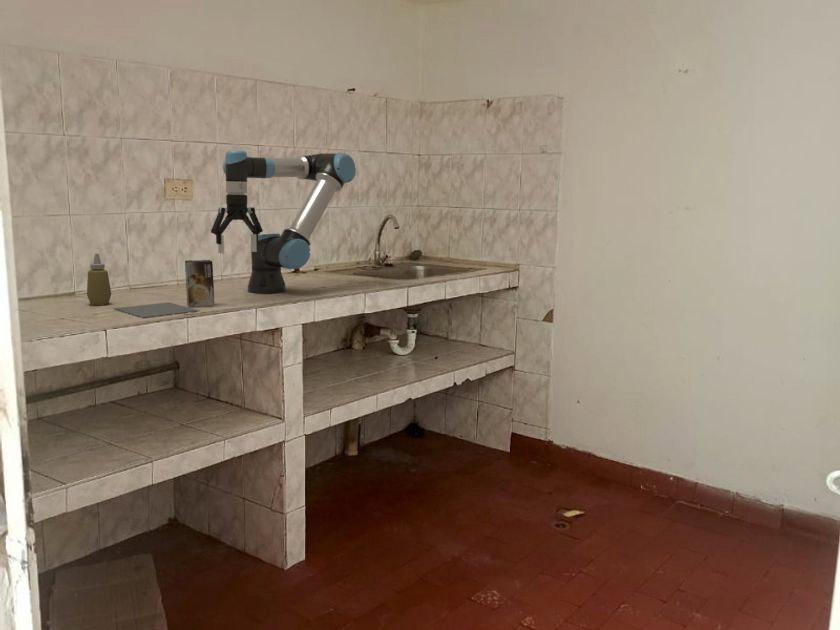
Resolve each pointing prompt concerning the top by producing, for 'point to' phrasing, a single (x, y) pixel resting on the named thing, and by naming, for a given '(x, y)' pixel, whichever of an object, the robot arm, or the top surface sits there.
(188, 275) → the coffee box
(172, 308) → the mat
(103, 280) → the squeeze bottle
